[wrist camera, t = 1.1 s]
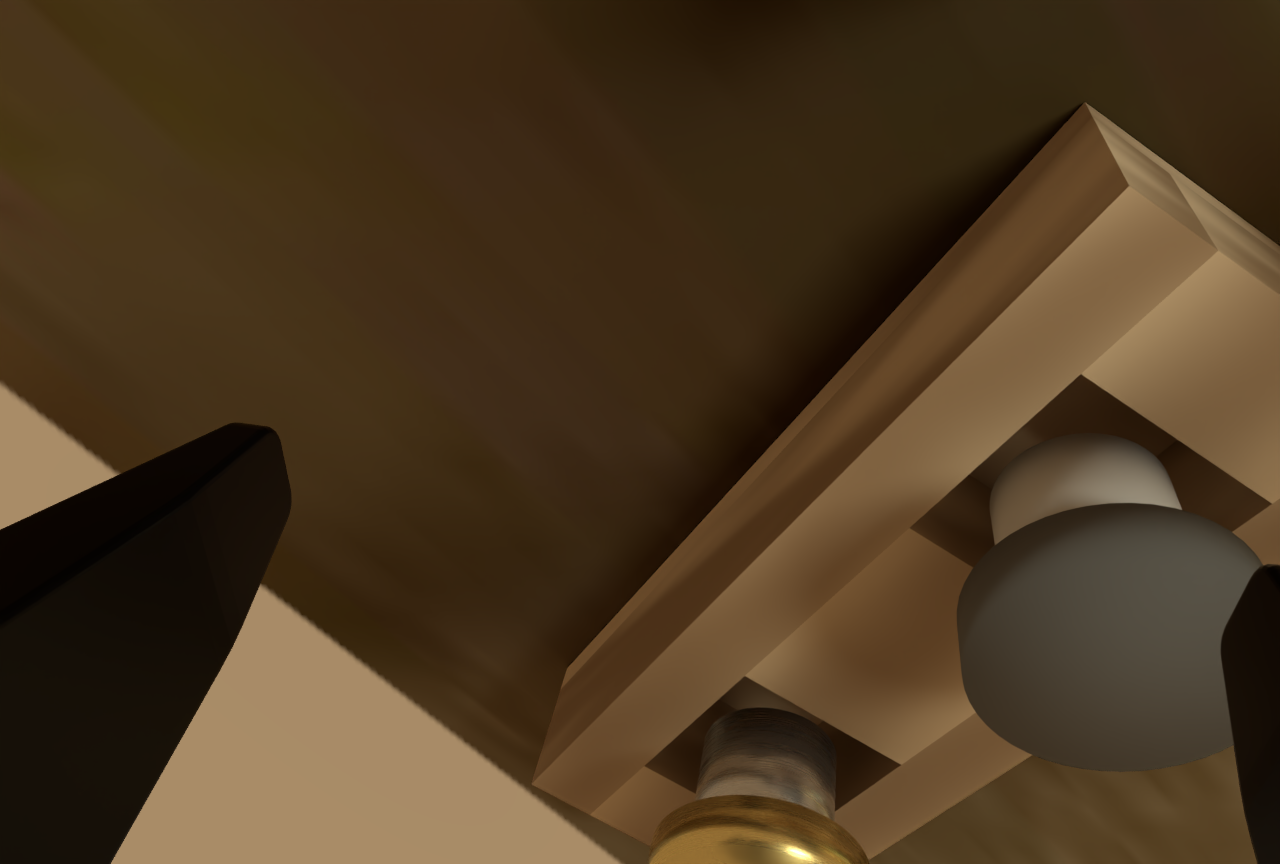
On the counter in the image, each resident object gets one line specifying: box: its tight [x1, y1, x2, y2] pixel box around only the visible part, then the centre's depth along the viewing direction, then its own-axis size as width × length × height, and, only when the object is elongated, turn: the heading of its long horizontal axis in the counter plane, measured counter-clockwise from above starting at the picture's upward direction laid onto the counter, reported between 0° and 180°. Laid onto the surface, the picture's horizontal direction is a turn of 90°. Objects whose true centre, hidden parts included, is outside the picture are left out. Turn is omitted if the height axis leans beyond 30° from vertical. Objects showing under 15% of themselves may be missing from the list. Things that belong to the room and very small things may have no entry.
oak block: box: [531, 102, 1280, 860], centre depth 24 cm, size 8×20×4 cm, turn 149°
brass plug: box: [648, 707, 869, 864], centre depth 23 cm, size 5×5×4 cm
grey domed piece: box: [957, 433, 1263, 772], centre depth 18 cm, size 5×5×4 cm
